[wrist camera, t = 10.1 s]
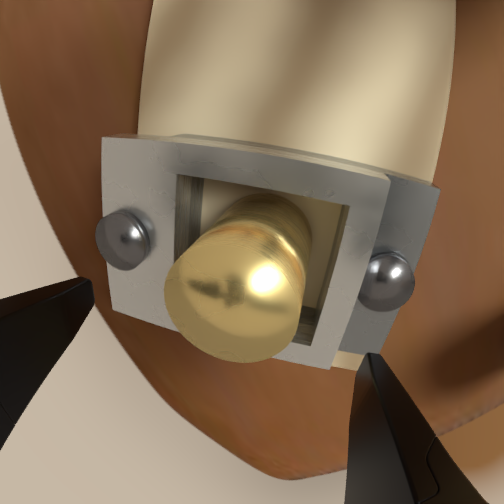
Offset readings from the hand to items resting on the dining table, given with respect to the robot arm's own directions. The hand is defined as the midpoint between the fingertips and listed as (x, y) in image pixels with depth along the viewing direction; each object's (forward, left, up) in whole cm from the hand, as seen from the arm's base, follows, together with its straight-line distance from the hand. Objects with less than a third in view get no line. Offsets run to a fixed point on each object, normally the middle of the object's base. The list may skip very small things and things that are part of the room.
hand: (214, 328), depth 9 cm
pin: (0, 0, -7) cm, 7 cm away
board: (0, -4, -8) cm, 9 cm away
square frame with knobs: (0, 0, -8) cm, 8 cm away
